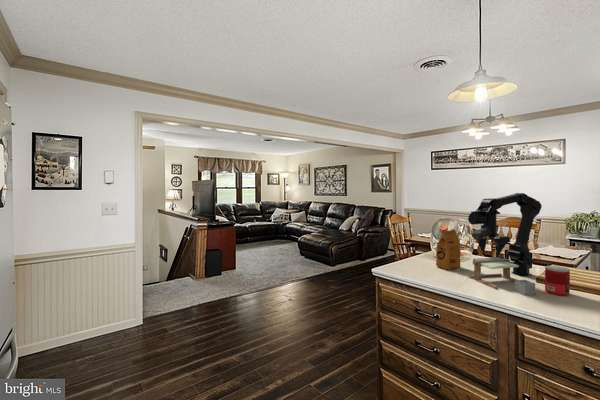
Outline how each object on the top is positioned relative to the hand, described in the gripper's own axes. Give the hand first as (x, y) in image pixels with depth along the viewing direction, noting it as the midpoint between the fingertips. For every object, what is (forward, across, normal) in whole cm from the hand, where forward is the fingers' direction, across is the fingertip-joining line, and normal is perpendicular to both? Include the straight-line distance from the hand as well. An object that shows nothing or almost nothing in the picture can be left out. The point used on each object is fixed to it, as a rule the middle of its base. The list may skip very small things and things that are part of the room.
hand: (490, 253), depth 148 cm
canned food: (+13, +25, +10) cm, 30 cm away
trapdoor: (+5, +5, -2) cm, 8 cm away
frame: (+12, +7, -2) cm, 14 cm away
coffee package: (+12, -22, -8) cm, 26 cm away
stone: (+12, +22, -3) cm, 25 cm away
